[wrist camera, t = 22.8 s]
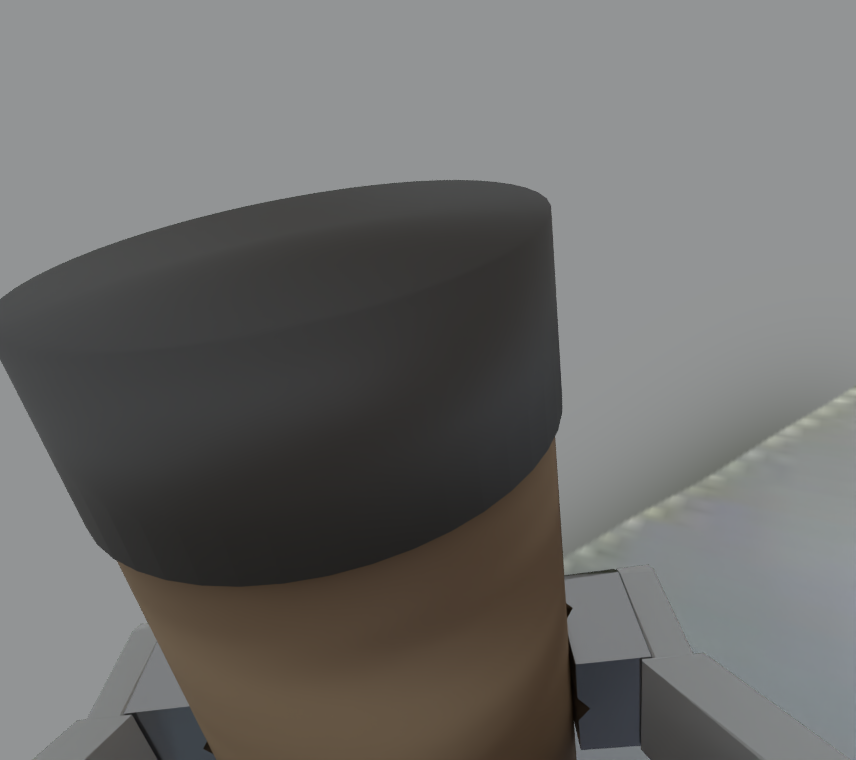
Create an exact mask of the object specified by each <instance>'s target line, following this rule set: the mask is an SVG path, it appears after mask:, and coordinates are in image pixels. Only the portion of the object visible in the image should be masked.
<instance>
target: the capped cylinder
mask: <svg viewBox="0 0 856 760" xmlns="http://www.w3.org/2000/svg"><path fill="white" fill-rule="evenodd" d="M0 360H1V362H2V364H3V366H4V367H5V369H6V371H7V374H8V375H9V377H10V379H11V381H12V383H13V385H14V387H15V389H16V391H17V393H18V395H19V397H20V399H21V401H22V403H23V405H24V407H25V409H26V411H27V412H28V414H29V416H30V418H31V420H32V422H33V424H34V426H35V428H36V430H37V432H38V434H39V436H40V438H41V440H42V442H43V444H44V446H45V448H46V449H47V452H48V454H49V456H50V457H51V459H52V461H53V463H54V465H55V467H56V469H57V471H58V473H59V475H60V477H61V479H62V481H63V483H64V484H65V487H66V489H67V491H68V493H69V495H70V497H71V498H72V500H73V502H74V504H75V506H76V508H77V510H78V512H79V514H80V516H81V518H82V520H83V522H84V524H85V526H86V528H87V529H88V531H89V532H90V534H91V536H92V537H93V539H94V540H95V542H96V543H97V545H98V546H100V547H101V548H102V549H103V550H104V551H105V552H106V553H108V554H109V555H110V556H111V557H112V558H113V559H115V560H117V562H118V564H119V566H120V568H121V570H122V572H123V574H124V576H125V577H126V580H127V582H128V584H129V586H130V588H131V590H132V592H133V594H134V596H135V598H136V600H137V602H138V603H139V606H140V608H141V610H142V612H143V614H144V616H145V618H146V620H147V622H148V624H149V626H150V628H151V630H152V632H153V634H154V636H155V638H156V640H157V642H158V644H159V646H160V648H161V650H162V652H163V654H164V656H165V658H166V660H167V662H168V664H169V666H170V668H171V670H172V672H173V674H174V676H175V678H176V680H177V682H178V684H179V686H180V688H181V690H182V692H183V694H184V696H185V698H186V700H187V702H188V704H189V706H190V708H191V710H192V712H193V714H194V716H195V718H196V720H197V722H198V724H199V726H200V728H201V730H202V732H203V734H204V736H205V738H206V740H207V742H208V744H209V746H210V748H211V750H212V752H213V754H214V756H215V758H216V760H576V747H575V731H574V718H573V704H572V687H571V671H570V659H569V643H568V625H567V610H566V595H565V580H564V565H563V550H562V536H561V520H560V506H559V505H560V504H559V490H558V474H557V459H556V444H555V435H556V433H557V431H558V428H559V424H560V419H561V415H562V388H561V371H560V353H559V337H558V319H557V302H556V284H555V269H554V250H553V234H552V216H551V205H550V203H549V202H548V200H547V198H545V197H544V196H542V195H541V194H539V193H538V192H536V191H533V190H530V189H528V188H525V187H521V186H516V185H512V184H505V183H497V182H488V181H468V180H466V181H465V180H442V181H441V180H439V181H438V180H437V181H416V182H404V183H390V184H381V185H371V186H363V187H355V188H347V189H340V190H333V191H326V192H320V193H314V194H308V195H302V196H296V197H291V198H285V199H280V200H275V201H270V202H265V203H260V204H255V205H251V206H246V207H241V208H237V209H233V210H228V211H224V212H220V213H216V214H212V215H208V216H204V217H200V218H196V219H192V220H189V221H185V222H181V223H177V224H174V225H171V226H167V227H164V228H160V229H157V230H153V231H150V232H147V233H144V234H141V235H137V236H134V237H131V238H128V239H125V240H122V241H119V242H117V243H114V244H111V245H108V246H105V247H102V248H99V249H97V250H94V251H92V252H89V253H87V254H84V255H82V256H79V257H76V258H74V259H72V260H69V261H67V262H65V263H62V264H60V265H58V266H56V267H54V268H52V269H49V270H47V271H45V272H43V273H42V274H39V275H37V276H35V277H33V278H32V279H30V280H28V281H26V282H25V283H23V284H21V285H20V286H18V287H16V288H15V289H13V290H12V291H11V292H9V293H8V294H6V295H5V296H4V297H2V298H1V299H0Z"/></svg>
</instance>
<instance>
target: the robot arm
mask: <svg viewBox="0 0 856 760" xmlns="http://www.w3.org/2000/svg"><path fill="white" fill-rule="evenodd" d="M564 580H565V595H566V610H567V625H568V643H569V659H570V671H571V687H572V704H573V718H574V723H575V727H576V731H577V735H578V739H579V744H580V748H581V750H587V749H601V748H616V747H630V746H641V750H642V751H643V752H644V753H645V754H646V755H647V756H648V757H649V758H650V759H651V760H850V759H849V758H848V757H846V756H845V755H844V754H842V753H841V752H840V751H838V750H837V749H835V748H834V747H833V746H831V745H830V744H829V743H827V742H826V741H824V740H823V739H822V738H820V737H819V736H818V735H816V734H815V733H813V732H812V731H811V730H809V729H808V728H807V727H805V726H804V725H802V724H801V723H800V722H798V721H797V720H796V719H794V718H793V717H791V716H790V715H789V714H787V713H786V712H785V711H783V710H782V709H780V708H779V707H778V706H776V705H775V704H774V703H772V702H771V701H769V700H768V699H767V698H765V697H764V696H763V695H761V694H760V693H759V692H757V691H756V690H754V689H753V688H752V687H750V686H749V685H748V684H746V683H745V682H743V681H742V680H741V679H739V678H738V677H737V676H735V675H734V674H732V673H731V672H730V671H728V670H727V669H726V668H724V667H723V666H721V665H720V664H719V663H717V662H716V661H715V660H713V659H712V658H710V657H709V656H708V655H706V654H705V653H695V654H693V652H692V650H691V648H690V645H689V643H688V641H687V639H686V637H685V635H684V633H683V630H682V628H681V626H680V624H679V622H678V620H677V618H676V616H675V613H674V611H673V609H672V607H671V605H670V603H669V601H668V598H667V596H666V594H665V592H664V590H663V588H662V586H661V584H660V581H659V579H658V577H657V575H656V573H655V571H654V569H653V568H652V567H651V566H650V565H642V566H634V567H626V568H618V569H616V570H615V569H610V570H602V571H594V572H586V573H578V574H570V575H564ZM33 760H216V758H215V756H214V754H213V752H212V750H211V748H210V746H209V744H208V742H207V740H206V738H205V736H204V734H203V732H202V730H201V728H200V726H199V724H198V722H197V720H196V718H195V716H194V714H193V712H192V710H191V708H190V706H189V704H188V702H187V700H186V698H185V696H184V694H183V692H182V690H181V688H180V686H179V684H178V682H177V680H176V678H175V676H174V674H173V672H172V670H171V668H170V666H169V664H168V662H167V660H166V658H165V656H164V654H163V652H162V650H161V648H160V646H159V644H158V642H157V640H156V638H155V636H154V634H153V632H152V630H151V628H150V626H149V624H148V623H145V624H141V625H140V626H138V627H137V628H136V629H135V630H134V631H133V632H132V633H131V635H130V637H129V639H128V641H127V643H126V645H125V647H124V649H123V651H122V652H121V654H120V656H119V658H118V660H117V662H116V664H115V666H114V668H113V670H112V672H111V674H110V676H109V677H108V679H107V681H106V683H105V685H104V687H103V689H102V691H101V693H100V695H99V697H98V699H97V701H96V703H95V704H94V706H93V708H92V710H91V712H90V714H89V716H88V718H87V719H85V720H78V721H76V722H75V723H74V724H73V725H72V726H70V728H68V729H67V730H66V731H65V732H64V733H63V734H61V735H60V736H59V737H58V738H57V739H56V740H55V741H54V742H52V743H51V744H50V745H49V746H47V747H46V748H45V749H44V750H43V751H42V752H41V753H39V754H38V755H37V756H36V757H35V758H34V759H33Z"/></svg>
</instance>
